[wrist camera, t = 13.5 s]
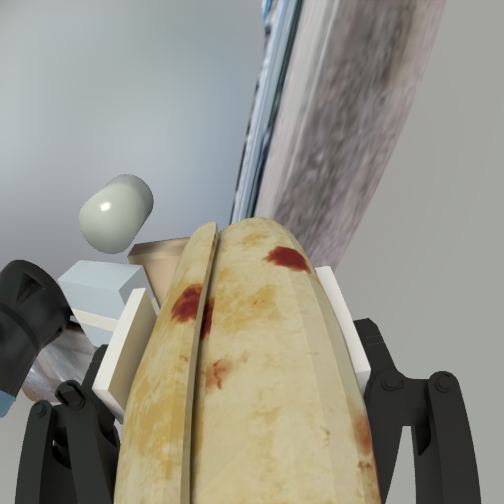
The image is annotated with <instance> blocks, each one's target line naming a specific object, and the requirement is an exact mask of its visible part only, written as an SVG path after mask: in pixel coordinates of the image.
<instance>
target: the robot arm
mask: <svg viewBox="0 0 504 504" xmlns="http://www.w3.org/2000/svg"><path fill="white" fill-rule="evenodd" d="M315 273H316V275H317V277H318V279H319V281H320V283H321V285H322V287H323V289H324V291H325V293H326V295H327V297H328V299H329V301H330V304H331V306H332V308H333V310H334V312H335V315H336V317H337V319H338V322H339V324H340V327H341V329H342V332H343V334H344V337H345V339H346V342H347V346H348V349H349V353H350V356H351V359H352V363H353V366H354V370H355V373H356V376H357V380H358V383H359V386H360V389H361V393H362V396H363V399H364V403H365V406H366V411H367V416H368V421H369V426H370V432H371V437H372V443H373V449H374V454H375V460H376V466H377V472H378V479H379V485H380V492H381V499H382V504H385V502H386V498H387V495H388V491H389V488H390V484H391V480H392V476H393V472H394V467H395V463H396V458H397V454H398V449H399V443H400V438H401V432H402V427H403V426H411V432H412V442H413V453H414V466H415V482H416V504H481V497H480V487H479V478H478V471H477V464H476V458H475V452H474V446H473V441H472V436H471V431H470V426H469V422H468V417H467V413H466V409H465V405H464V401H463V397H462V393H461V389H460V386H459V382H458V380H457V379H456V377H455V376H454V375H453V374H452V373H449V372H447V371H439V372H436V373H434V374H433V375H431V376H430V378H429V379H410V378H407V377H405V376H404V375H403V374H402V373H400V372H398V370H397V369H396V367H395V365H394V362H393V360H392V358H391V356H390V353H389V351H388V349H387V347H386V344H385V343H384V340H383V338H382V336H381V333H380V331H379V329H378V327H377V325H376V324H375V323H374V322H372V321H371V320H370V319H369V318H367V319H361V320H355V321H352V318H351V316H350V313H349V311H348V308H347V306H346V304H345V301H344V299H343V296H342V294H341V292H340V289H339V287H338V284H337V282H336V280H335V277H334V275H333V273H332V270H331V268H330V266H326V267H318V268H315ZM156 320H157V315H156V312H155V310H154V307H153V305H152V302H151V300H150V297H149V294H148V292H147V289H146V288H138V289H133V290H132V293H131V295H130V297H129V299H128V301H127V304H126V306H125V308H124V310H123V313H122V315H121V317H120V319H119V322H118V324H117V326H116V329H115V331H114V333H113V336H112V338H111V341H110V343H109V344H102V345H101V346H100V347H99V348H98V349H97V351H96V352H95V354H94V356H93V359H92V362H91V363H90V366H89V369H88V371H87V373H86V375H85V378H84V380H83V383H82V386H81V385H80V384H79V383H78V382H77V381H75V380H67V381H65V382H63V383H62V384H60V385H59V386H58V388H57V390H56V392H55V397H56V398H57V399H58V400H59V401H60V402H61V403H62V404H61V405H55V406H52V405H51V404H50V403H49V402H48V401H47V400H40V401H38V402H36V403H35V404H34V405H33V406H32V408H31V410H30V414H29V418H28V422H27V426H26V432H25V436H24V441H23V446H22V452H21V457H20V464H19V471H18V478H17V486H16V496H15V504H114V489H115V482H116V474H117V467H118V459H119V452H120V446H121V444H120V440H119V436H118V431H117V429H116V427H115V426H114V421H115V418H116V419H117V420H118V422H119V423H120V424H123V422H124V415H125V410H126V406H127V402H128V398H129V394H130V390H131V386H132V383H133V380H134V377H135V375H136V372H137V370H138V367H139V364H140V362H141V359H142V357H143V354H144V352H145V349H146V346H147V344H148V341H149V339H150V336H151V334H152V331H153V328H154V326H155V323H156ZM69 321H70V308H69V304H68V301H67V299H66V297H65V295H64V293H63V291H62V290H61V288H60V287H59V286H58V284H57V283H56V282H55V281H54V279H53V278H52V277H51V276H50V275H49V274H47V273H46V272H45V271H44V270H43V269H41V268H40V267H38V266H37V265H35V264H33V263H31V262H28V261H25V260H14V261H12V262H10V263H9V264H8V265H7V266H6V267H5V268H4V269H3V270H2V271H1V272H0V418H2V417H4V416H5V415H6V414H7V412H8V410H9V409H10V407H11V405H12V404H13V402H14V401H16V397H17V394H18V392H19V390H20V388H21V386H22V384H23V382H24V380H25V378H26V376H27V374H28V373H29V371H30V369H31V367H32V365H33V363H34V361H35V359H36V358H37V356H38V354H39V352H40V351H41V350H42V349H43V348H45V347H46V346H47V345H48V344H50V343H51V342H52V341H54V340H55V339H56V338H58V337H59V336H60V335H61V334H62V333H63V332H64V330H65V328H66V327H67V325H68V323H69ZM53 440H54V445H53Z"/></svg>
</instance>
